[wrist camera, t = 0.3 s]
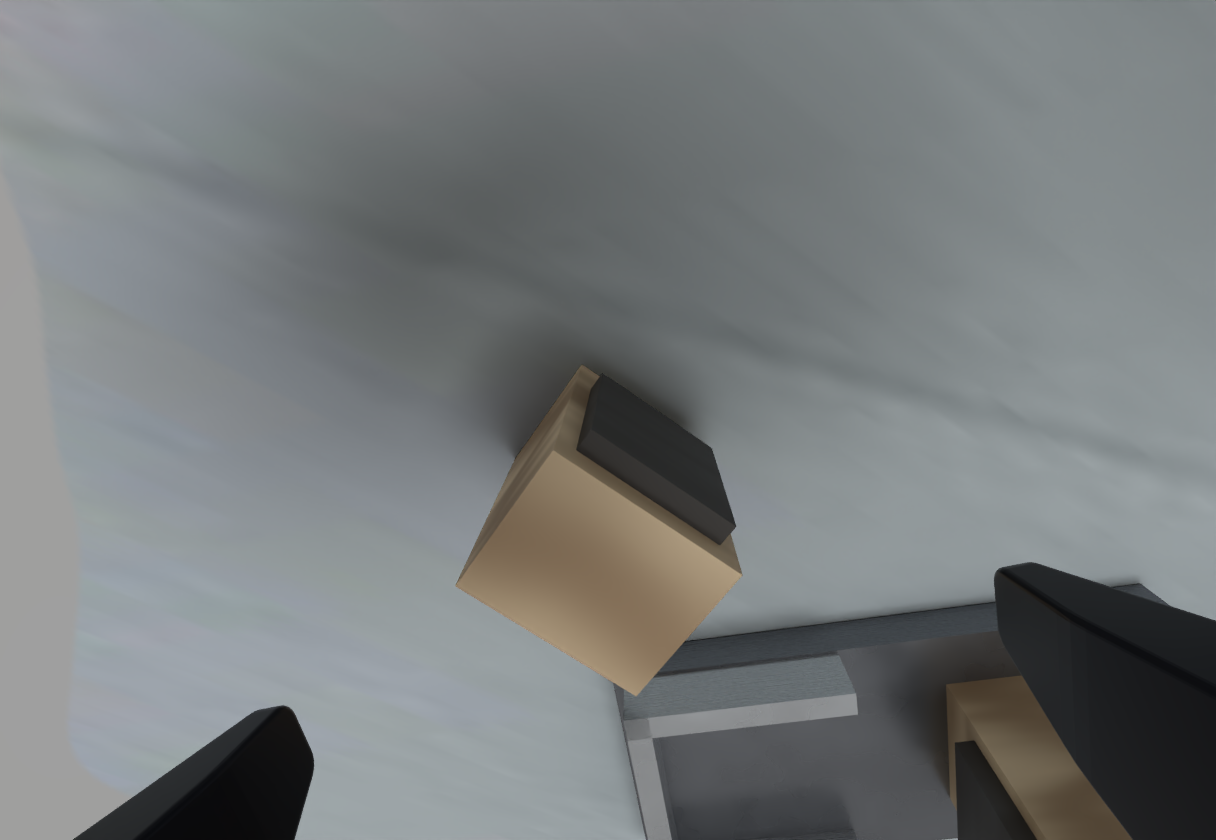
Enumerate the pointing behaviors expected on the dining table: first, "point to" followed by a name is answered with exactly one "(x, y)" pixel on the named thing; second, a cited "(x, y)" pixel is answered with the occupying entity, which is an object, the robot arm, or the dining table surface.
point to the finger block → (607, 534)
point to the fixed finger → (1016, 770)
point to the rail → (810, 728)
